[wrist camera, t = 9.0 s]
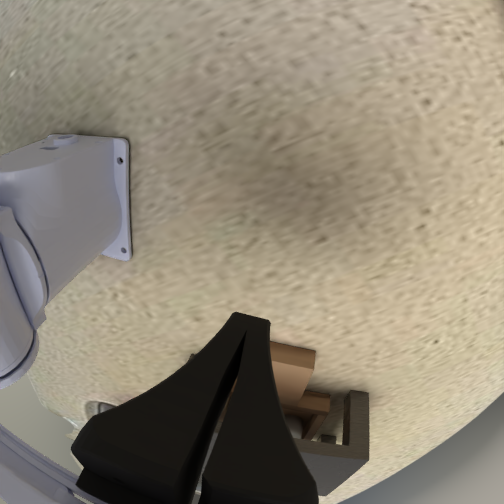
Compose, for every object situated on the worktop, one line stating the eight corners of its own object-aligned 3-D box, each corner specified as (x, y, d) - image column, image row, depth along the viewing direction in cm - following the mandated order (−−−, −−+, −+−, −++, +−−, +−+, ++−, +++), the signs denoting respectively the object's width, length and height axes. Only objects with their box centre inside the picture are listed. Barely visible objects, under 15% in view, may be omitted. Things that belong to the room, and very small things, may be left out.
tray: (231, 331, 26) (215, 373, 22) (350, 357, 24) (350, 401, 21) (220, 417, 33) (209, 449, 29) (305, 436, 32) (300, 469, 28)
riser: (191, 353, 28) (161, 415, 22) (368, 392, 26) (369, 459, 20) (191, 412, 34) (171, 462, 28) (331, 443, 32) (325, 496, 26)
